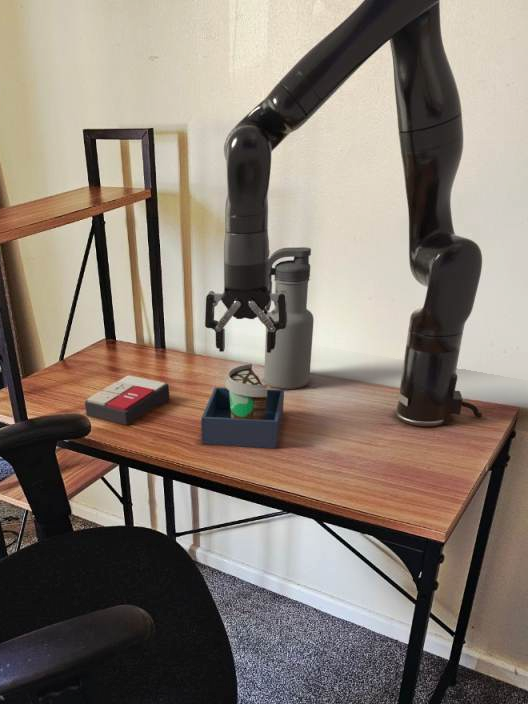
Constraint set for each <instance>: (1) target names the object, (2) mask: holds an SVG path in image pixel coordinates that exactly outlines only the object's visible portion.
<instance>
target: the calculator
mask: <svg viewBox="0 0 528 704" xmlns="http://www.w3.org/2000/svg"><path fill="white" fill-rule="evenodd" d="M169 401H170V387H169V384H168V383H166V382H162V381H158V380H153V379H149V378H144V377H139V376H134V375H130V374H128V375H126V376H124V377H123V378H120V379H119V380H118V381H115V382H113V383H111V384H110V385H108V386H106V387H104V388H103V389H102V390H100V391H98V392H96V393H95V394H93V395H91V396H90V397H88V398H87V400H85V401H84V406H85V407H84V408H85V412H86V413H85V414H86V415H87V416H88V417H93V418H97V419H101V420H103V421H104V420H105V421H109V422H112V423H115V424H116V423H117V424H121V425H124V426H129V425H130V424H132V423H134V422H135V421H137V420H138V419H140V418H141V417H142V416H144V415H145V414H147V413H148V412H149V411H151V410H153V409H155V408H156V407H161V406H164V404H166V403H167V402H169Z"/></svg>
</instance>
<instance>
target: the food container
mask: <svg viewBox="0 0 528 704" xmlns="http://www.w3.org/2000/svg"><path fill="white" fill-rule="evenodd" d="M228 372H229V373H228V374H227V377H226V379H225V380H226V381H225V388H227V389H228V390H229V394H230V408H231V418H237V419H258V420H265V406H266V397H267V389H268V384H262V382H261V380H260V377H259V376H258V375H257V374H256V373H255V372H254V370H253V364H252V363H249V364H243V365H239V366H236V367H234V368H232V369H230V370H229V371H228Z"/></svg>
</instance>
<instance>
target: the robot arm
mask: <svg viewBox="0 0 528 704" xmlns="http://www.w3.org/2000/svg"><path fill="white" fill-rule="evenodd" d="M440 4H441V0H363V1H362V2H361V3H360V4H359V5H358V6H357V8H356V9H354V10H353V11H352V13H351V14H350V15H348V17H346V19H344V20H343V21H342V22H341V23H340V24H339V25H338V26H337V27H335V28H334V29H333V30H332V31H331V32H329V33H328V34H327V35H326V36H325V37H324V38H322V39H321V40H320V41H319V42H318V43H316V45H314V46H313V47H312V48H311V49H309V50H308V52H306V54H304V55H303V56H302V57H301V58H300V59H299V60H298V61H297V62H296V63H295V64H294V65H293V66H292V68H290V69H289V70H288V71H287V73H286V74H285V75H284V76H283V77H282V78H281V79H280V80H279V81H278V83H276V84H275V86H274V87H273V88H272V90H271V91H269V94H267V96H266V97H265V98H264V99H263V100H262V101H261V102H259V103H258V104H257V105H256V106H255V107H253V109H252V110H250V112H248V113H247V114H246V115H245V116H243V118H242V119H241V120H240V121H239V122H238V123H237V124H236V125H235V126H234V127H233V128H232V129H231V130H230V131H229V133H228V134H227V136H226V137H225V141H224V143H223V155H224V158H225V164H226V188H227V189H226V190H227V191H226V192H227V197H226V200H225V207H224V208H225V209H224V227H225V228H224V242H223V292H222V293H216V292H215V291H214V290H210V291H209V292H208V293H207V294H206V298H205V315H204V316H205V317H204V318H205V319H204V320H205V321H204V327H205V328H206V329H212V330H214V333H215V348H216V349H218V351H219V352H221V353H224V351H225V348H226V339H225V338H226V337H225V336H226V333H225V332H226V328H225V326H226V325H227V324H228V323H229V321H230V320H231V319H232V317H233V318H235V319H236V320H243V319H248V320H255V319H258V320H259V321H260V322H261V324H263V325H264V326H265V329H266V328H267V329H268V332H267V353H271V350H274V348H275V345H276V331H277V330H279V329H284V328H285V327H286V324H287V297H286V292H285V291H281V292H280V293H275V292H274V293H272V294H270V292H269V290H268V269H269V258H270V254H271V253H270V252H271V251H270V239H269V198H268V197H269V196H268V195H269V189H270V180H271V170H272V152H273V151H274V150H276V148H277V147H278V146H279V145H280V144H281V143H282V142H283V141H284V140H285V139H286V138H287V137H288V136H289V135H291V134H292V133H294V132H296V131H298V130H299V129H300V128H301V127H302V126H304V125H305V124H306V123H307V122H308V121H309V120H310V119H311V118H312V117H313V116H314V115H315V114H316V113H317V112H318V111H319V110H320V109H321V108H322V107H323V105H325V104H326V102H328V101H329V99H331V98H332V97H333V95H334V94H336V93H337V92H338V90H339V89H340V88H341V87H342V86H343V85H344V84H345V83H346V82H347V81H348V80H349V79H350V78H351V77H352V76H353V75H354V74H355V73H356V72H357V71H358V70H359V69H360V68H361V67H362V66H363V65H364V64H365V63H366V62H367V61H368V60H369V59H370V58H371V57H372V56H373V55H374V54H375V53H376V52H377V51H379V50H380V49H381V48H382V47H383V46H384V45H385V44H386V43H388V42H389V44H390V50H391V57H392V66H393V68H392V69H393V84H394V96H395V106H396V116H397V130H398V131H397V132H398V139H399V148H400V149H399V150H400V155H401V161H402V168H403V169H402V170H403V176H404V187H405V196H406V203H407V208H408V209H407V210H408V212H407V213H408V259H409V268H410V272H411V275H412V276H413V278H414V279H415V281H417V282H418V283H419V284H420V285H422V286H424V287H426V288H427V289H426V293H425V299H424V303H423V307H420V308H417V309H415V310H413V311H412V312H411V314H410V317H409V323H408V330H407V337H406V345H405V351H404V357H403V365H402V373H401V379H400V387H399V392H397V394H396V396H397V397H396V401H397V406H396V412H395V417H396V419H398V420H399V421H400V422H402V423H404V424H407V425H410V426H415V427H426V428H429V427H438V426H441V425H449V424H450V420H451V415H457V416H459V415H461V410H462V407H465V408H467V409H470V410H471V411H472V413H473V415H474V417H476V418H482V416H483V413H482V412H479V409H478V407H477V406H476V405H475V404H472V403H470V402H466V401H464V400H463V396H462V394H461V391H460V390H456V387H457V382H458V373H457V369H458V364H459V363H458V362H459V357H460V351H461V346H462V340H463V336H464V330H465V326H466V322H467V321H468V319H469V317H470V316H471V314H472V312H473V308H474V305H475V300H476V297H477V292H478V288H479V284H480V279H481V275H482V269H483V254H482V253H483V252H482V250H481V248H480V246H479V245H478V244H477V243H476V241H474V240H472V239H469V238H467V237H464V236H461V235H457V234H456V233H455V229H454V224H453V217H452V207H451V206H452V204H451V203H452V202H451V198H452V189H453V186H454V182H455V179H456V177H457V176H456V175H457V173H458V170H459V168H460V164H461V160H462V157H463V152H464V126H463V125H464V123H463V114H462V112H463V111H462V105H461V98H460V97H461V96H460V94H459V89H458V85H457V83H456V79H455V75H454V74H453V70H452V68H451V65H450V62H449V59H448V56H447V53H446V50H445V46H444V43H443V37H442V29H441V5H440ZM270 300H271V302H273V305H274V307H275V306H278V309H279V321H276V322H275V321H274V320H273V318H272V317H271V315H270V311H268V310H267V309H266V306H267V304H268V303H269V301H270ZM220 301H221V303H222V304H223V305H224V306H225V308H226V311H225V312H224V314H223V315H222V316H221V317H220V319H219V320H216V319H215V307H217V306H218V304H219V303H220Z"/></svg>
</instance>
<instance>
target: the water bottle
mask: <svg viewBox="0 0 528 704" xmlns="http://www.w3.org/2000/svg"><path fill="white" fill-rule="evenodd" d="M311 255H312V248H311V247H305V246H304V247H303V246H302V247H301V246H299V247H282V248H279V249H277V250H275V251H274V252H273V253H272V254H271V255H269V269H268V290H269V292H270V294H272V292H273V281H274V282H275V288H274V293H280V292H281V291H285V292H286V297H287V324H286V327H285V328H284V329H279V330H277V331H276V345H275V348H274V350H271V353H267V332H268V329H267V328H266V327H265V345H264V347H265V349H264V373H263V374H264V376H263V380H264V382H265V385H267V386H269V387H272V388H274V389H276V390H295V389H300V388H302V387H305V386H306V385H307V384H309V382H310V378H311V377H310V375H311V365H312V364H311V362H312V349H313V334H314V333H313V332H314V321H315V319H314V314H313V313H312V312H311V310H309V309H307V307H308V306H307V305H308V304H307V303H308V293H309V292H308V289H309V281H310V280H311V279H310V278H311V264H310V256H311ZM283 258H293V259H288V260H282V261H280V262H278V263H276V264H275V262H277V261H278V260H280V259H283ZM274 264H275V266H274V267H273V265H274ZM273 276H274V280H273V281H272V277H273ZM271 306H272V300H270V301H269V303H268V304H267V306H266V307H265V308H266V309H267V310H268V312H269V313H270V315H271V317H272V318H273V320H274V321H275V322H276V321H279V309H278V306H275V305H274V308H273V309H272V310H270V309H271Z"/></svg>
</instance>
